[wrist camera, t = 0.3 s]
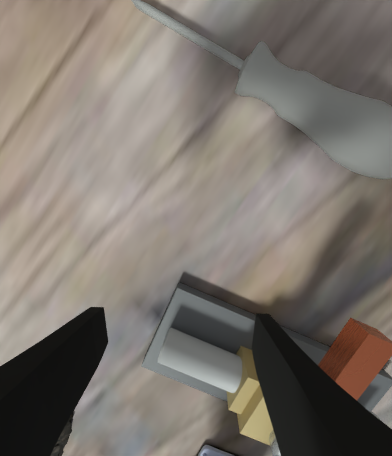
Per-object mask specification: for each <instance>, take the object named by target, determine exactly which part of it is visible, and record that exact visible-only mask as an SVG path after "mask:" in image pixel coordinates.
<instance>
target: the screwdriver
mask: <svg viewBox="0 0 392 456" xmlns="http://www.w3.org/2000/svg"><path fill="white" fill-rule="evenodd" d="M132 2H133V3H134V5H135V7H136V8H137V9H139V10H140V11H142V12H143V13H145V14H147V15H148V16H150V17H152V18H153V19H155V20H157V21H158V22H160V23H162V24H163V25H165V26H167V27H169V28H170V29H172V30H174V31H175V32H177V33H179V34H180V35H182V36H184V37H185V38H187V39H189V40H190V41H192V42H194V43H195V44H197V45H199V46H200V47H202V48H204V49H205V50H207V51H209V52H210V53H212V54H214V55H216V56H217V57H219V58H221V59H222V60H224V61H226V62H227V63H229V64H231V65H232V66H234V67H236V68H237V69H239V70H240V72H239V75H238V77H239V80H238V83H237V86H236V90H235V93H236V94H238V95H240V96H251V97H255V98H259V99H260V100H262V101H264V102H265V103H267V104H268V105H269V106H271V107H272V108H273V109H274V111H275V112H276V114H277V116H279V117H281V118H282V119H284V120H286V121H288V122H289V123H291V124H293V125H294V126H295V127H297V128H298V129H300V130H301V131H302V132H304V133H305V134H306V135H307V136H308V137H309V138H310V139H311V140H312V141H313V142H315V143H316V144H317V145H318V146H319V147H320V148H321V149H322V150H323V151H324V152H325V153H326V154H327V155H328V156H329V157H330V158H331V159H332V160H333V161H335V162H336V163H338V164H340V165H342V166H343V167H345V168H347V169H349V170H350V171H352V172H354V173H358V174H361V175H364V176H367V177H372V178H378V179H391V178H392V106H391V105H389V104H388V103H386V102H384V101H382V100H378V99H374V98H370V97H366V96H363V95H359V94H356V93H353V92H350V91H347V90H344V89H341V88H338V87H335V86H333V85H331V84H329V83H327V82H325V81H323V80H321V79H319V78H318V77H316V76H314V75H313V74H311V73H309V72H308V71H306V70H302V71H297V70H294V69H291V68H289V67H287V66H285V65H284V64H282V63H280V62H279V61H278V60H277V59H276V58H275V57H274V56H273V54H272V53H271V51H270V49H269V47H268V46H267V44H266V43H264V42H263V41H260V42H259V43H258V44H257V46H256V47H255V49H254V50H253V52H252V53H251V55H248V56H247V58H246V59H245V61H244V60H242V59H240V58H239V57H237V56H235V55H234V54H232V53H230V52H229V51H227V50H225V49H224V48H222V47H220V46H218V45H217V44H215V43H213V42H212V41H210V40H208V39H207V38H205V37H203V36H202V35H200V34H198V33H197V32H195V31H193V30H192V29H190V28H188V27H187V26H185V25H183V24H182V23H180V22H178V21H177V20H175V19H173V18H171V17H170V16H168V15H166V14H165V13H163V12H161V11H160V10H158V9H156V8H155V7H153V6H151V5H150V4H148V3H145V2H143V1H141V0H132Z"/></svg>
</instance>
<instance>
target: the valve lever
mask: <svg viewBox="0 0 392 456" xmlns="http://www.w3.org/2000/svg"><path fill="white" fill-rule="evenodd" d="M391 356H392V341H391V340H390V339H388V338H387V337H386V336H385V335H383V334H382V333H381V332H380V331H378V330H377V329H375V328H373V327H371V326H368V325H366V324H364V323H362V322H359V321H357V320H355V319H352V318H350V319H349V321H348V322H347V324H346V325H345V326H344V328H343V329H342V331H341V332H340V334H339V335H338V337H337V338H336V340H335V341H334V342H333V344H332V345H331V347H330V348H329V350H328V351H327V353H326V354H325V356H324V357H323V359H322V360H321V361H320V363H319V364H318V366H319V367H320V368H321V369H322V370H323V371H324V372H325V373H326V374H327V375H328V376H330V377H331V378H332V379H333V380H334V381H335V382H336V383H337V384H338V385H339V386H340V387H342V388H343V389H344V390H345V391H346V392H347V393H348V394H350V395H351V396H352V397H353V398H354V399H355V400H358V399H359V397H360V396H361V395H362V393H363V392H364V391H365V390H366V388H367V387H368V386H369V384H370V383H371V382H372V381H373V379H374V378H375V377H376V375H377V374H378V373H379V371H380V370H381V369H382V368H383V366H384V365H385V364H386V362H387V361H388V360H389V359H390V357H391ZM269 442H270V446H271V450H272V454H273V456H281V454H280V451H279V447H278V443H277V440H276V436H275V433H274V430H273V431H272V432H271V433H270V436H269Z"/></svg>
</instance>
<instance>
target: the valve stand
mask: <svg viewBox="0 0 392 456" xmlns="http://www.w3.org/2000/svg"><path fill="white" fill-rule="evenodd" d="M255 317H256V315H254V314H252V313H250V312H247V311H245V310H243V309H240V308H238V307H236V306H233V305H231V304H229V303H226V302H224V301H222V300H219V299H217V298H215V297H212V296H210V295H208V294H205V293H203V292H201V291H198V290H196V289H194V288H192V287H189V286H187V285H185V284H182V283H180V282H179V283H178V285H177V288H176V290H175V292H174V294H173V296H172V299H171V301H170V303H169V305H168V307H167V309H166V312H165V314H164V316H163V318H162V320H161V323H160V325H159V327H158V329H157V331H156V333H155V336H154V338H153V340H152V342H151V344H150V347H149V349H148V351H147V353H146V355H145V358H144V360H143V363H142V367H144V368H147V369H149V370H151V371H154V372H156V373H159V374H161V375H164V376H166V377H169V378H171V379H173V380H176V381H178V382H181V383H183V384H186V385H188V386H190V387H193V388H195V389H198V390H200V391H203V392H205V393H208V394H210V395H212V396H215V397H217V398H220V399H222V400H225V401H227V402H228V410H230V411H233V412H235V413H237V417H238V424H239V431H240V434H243V435H245V436H248V437H250V438H252V439H255V440H257V441H260V442H262V443H265V444H267V445H270V442H269V436H270V433H271V432H272V431H273V427H272V423H271V420H270V417H269V414H268V410H267V407H266V404H265V400H264V397H263V394H262V391H261V387H260V384H259V381H258V377H257V374H256V369H255V364H254V359H253V354H252V341H253V333H254V325H255ZM279 326H280V325H279ZM280 327H281V328H282V329H283V330H284V331H285V332H286V333H287V334H288V335H289V336H290V337H291V339H292V340H293V341H294V342H295V343H296V344H297V345H298V346H299V347H300V348H301V349H302V350H303V351H304V352H305V353H306V354H307V355H308V356H309V357H310V358H311V359H312V360H313V361H314V362H315V363H316V364H317V365H318V364H319V363H320V361H321V360H322V359H323V357H324V356H325V354H326V353H327V351H328V350H329V348H330V347H329V346H327V345H324V344H322V343H320V342H317V341H315V340H313V339H310V338H308V337H306V336H303V335H301V334H299V333H296V332H294V331H292V330H289V329H287V328H285V327H282V326H280ZM391 386H392V377H391V376H390V375H389V374H388V373H387V372H386V371H385V370H382V369H381V370H380V371H379V373H378V374H377V375H376V377H375V378H374V379H373V381H372V382H371V383H370V384H369V386H368V387H367V388H366V390H365V391H364V392H363V393H362V395H361V396H360V397H359V399H358V400H357V401H358V402H359V403H360V404H361V405H362V406H364V407H365V408H366V409H367V410H368V411H369V412H371V411H372V409H373V408H374V407H375V406H376V404H377V403H378V402H379V401H380V400H381V398H382V397H383V396H384V395H385V393H386V392H387V391H388V390H389V388H390V387H391ZM371 413H372V414H373V415H374V416H376V415H375V414H374V413H373V412H371ZM376 417H377V416H376ZM377 418H378V417H377ZM378 419H379V418H378ZM379 420H380V419H379Z"/></svg>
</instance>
